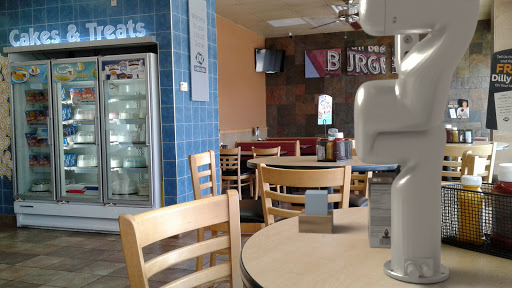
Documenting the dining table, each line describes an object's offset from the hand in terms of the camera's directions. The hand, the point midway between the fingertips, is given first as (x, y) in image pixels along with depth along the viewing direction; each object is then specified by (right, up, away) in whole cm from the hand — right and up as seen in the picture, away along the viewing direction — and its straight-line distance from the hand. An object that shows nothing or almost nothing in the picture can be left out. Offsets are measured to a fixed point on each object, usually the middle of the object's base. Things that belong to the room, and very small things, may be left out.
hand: (405, 97), depth 111 cm
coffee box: (-5, -37, +3) cm, 37 cm away
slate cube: (-20, -31, +17) cm, 40 cm away
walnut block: (-20, -36, +18) cm, 45 cm away
